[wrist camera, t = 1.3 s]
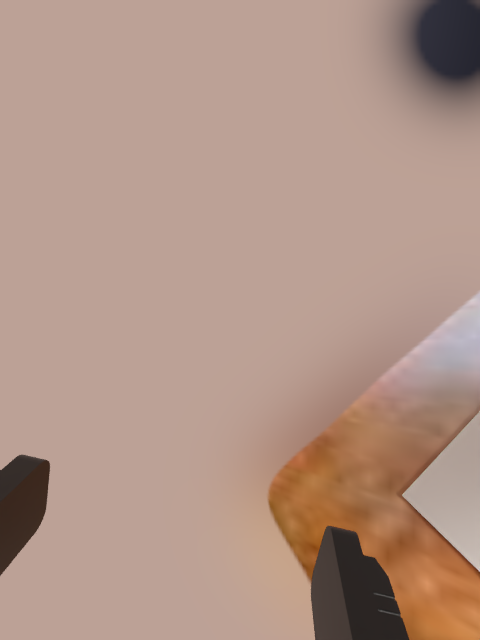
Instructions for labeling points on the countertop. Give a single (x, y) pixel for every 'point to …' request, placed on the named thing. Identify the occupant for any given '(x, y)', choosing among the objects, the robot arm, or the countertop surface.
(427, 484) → the grey mat
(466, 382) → the countertop surface
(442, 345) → the countertop surface
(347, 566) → the robot arm
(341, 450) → the countertop surface
